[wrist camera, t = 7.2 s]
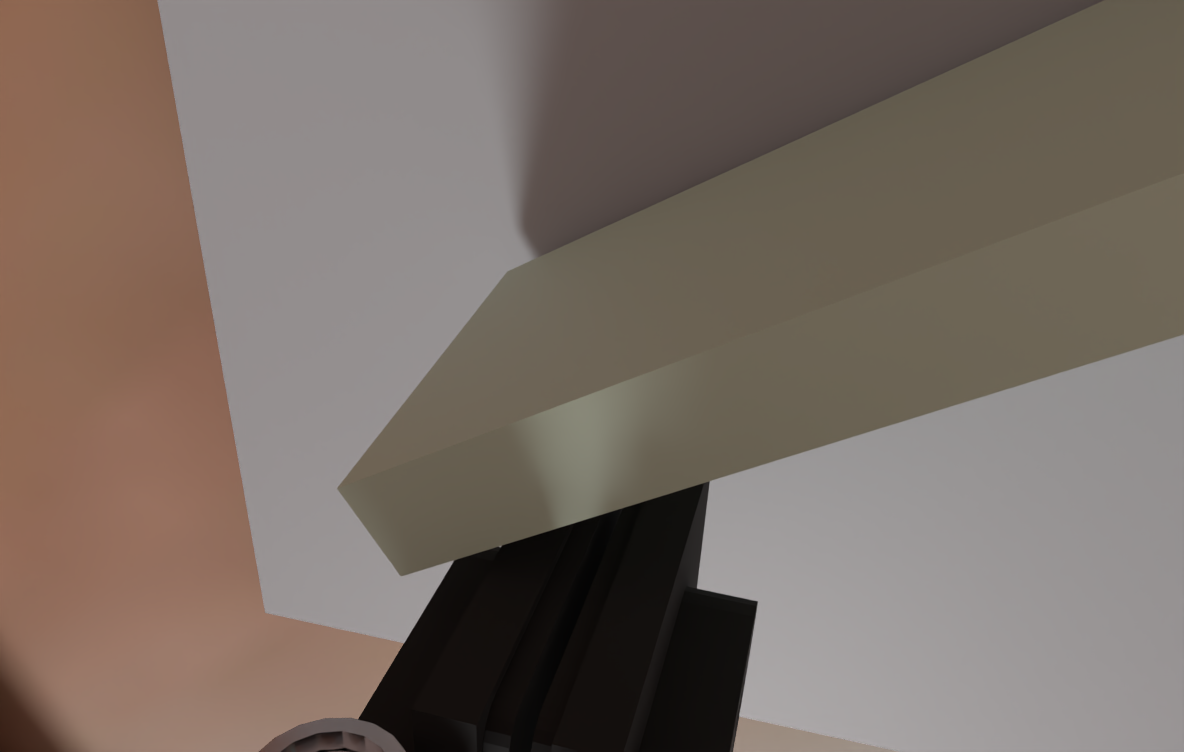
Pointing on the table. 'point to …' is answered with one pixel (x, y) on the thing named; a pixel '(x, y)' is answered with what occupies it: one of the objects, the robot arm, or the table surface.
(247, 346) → the board
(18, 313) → the table surface
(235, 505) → the table surface
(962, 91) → the gate panel
